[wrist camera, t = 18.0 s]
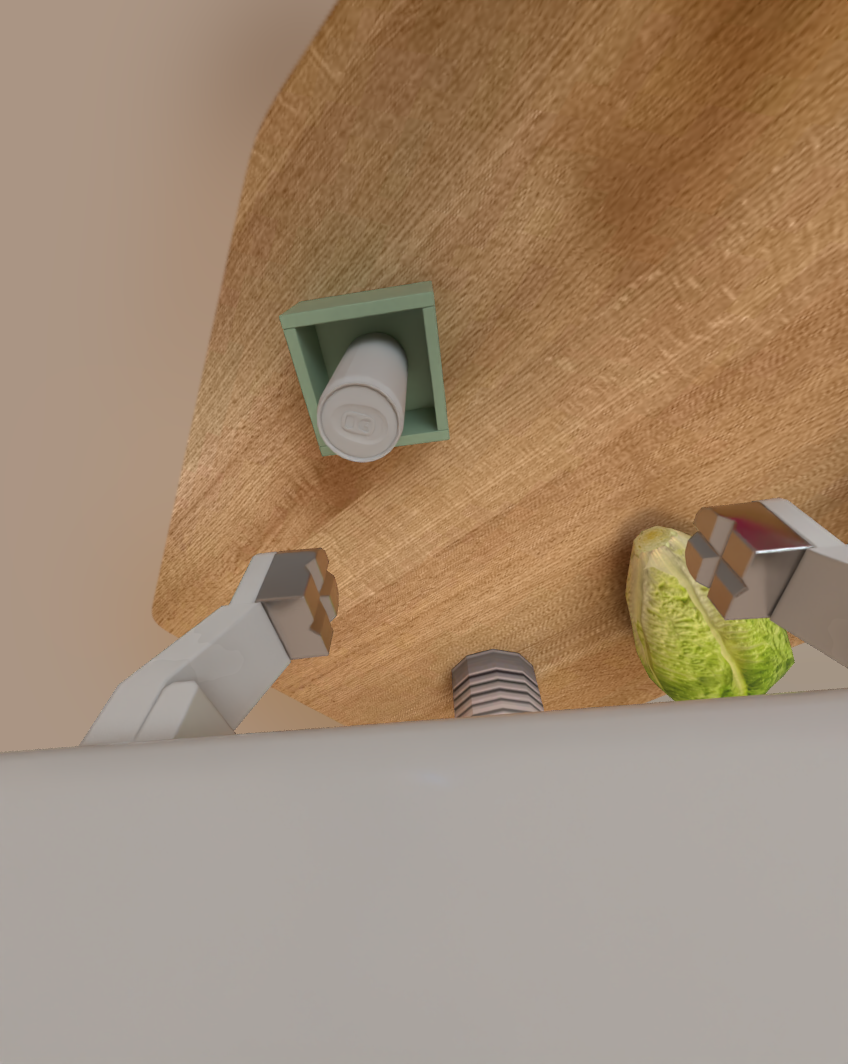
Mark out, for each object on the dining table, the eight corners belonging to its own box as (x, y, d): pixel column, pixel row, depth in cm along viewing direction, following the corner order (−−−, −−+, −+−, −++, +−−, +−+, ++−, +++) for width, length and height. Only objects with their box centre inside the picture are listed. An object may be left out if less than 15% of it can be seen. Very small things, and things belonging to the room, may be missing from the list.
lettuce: (774, 493, 34) (667, 616, 31) (831, 660, 42) (750, 766, 40) (636, 481, 45) (551, 570, 43) (703, 613, 54) (635, 693, 51)
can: (503, 636, 52) (522, 730, 43) (550, 678, 58) (576, 770, 48) (432, 673, 57) (434, 766, 47) (481, 708, 62) (493, 799, 52)
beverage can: (400, 401, 34) (393, 473, 25) (341, 386, 33) (309, 453, 24) (415, 340, 32) (413, 393, 22) (350, 321, 31) (319, 368, 21)
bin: (298, 301, 30) (278, 315, 26) (431, 280, 30) (433, 291, 25) (333, 427, 36) (321, 456, 32) (446, 412, 35) (449, 439, 31)
